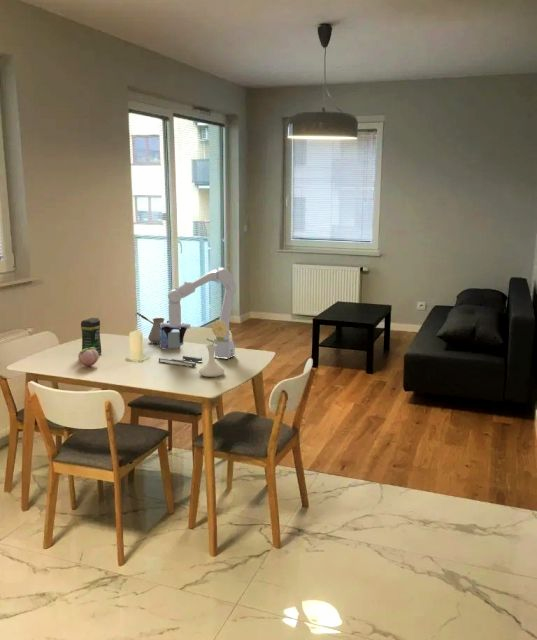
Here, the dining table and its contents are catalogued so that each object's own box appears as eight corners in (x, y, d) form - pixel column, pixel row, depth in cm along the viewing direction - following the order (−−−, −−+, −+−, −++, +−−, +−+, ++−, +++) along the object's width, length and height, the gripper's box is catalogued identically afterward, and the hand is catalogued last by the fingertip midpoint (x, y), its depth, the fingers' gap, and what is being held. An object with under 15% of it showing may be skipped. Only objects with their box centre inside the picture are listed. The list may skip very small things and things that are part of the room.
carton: (183, 343, 301) (183, 330, 300) (178, 348, 294) (178, 333, 292) (173, 343, 302) (172, 329, 301) (167, 347, 294) (167, 333, 293)
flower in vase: (201, 379, 267) (200, 323, 262) (197, 372, 278) (196, 318, 273) (230, 377, 271) (230, 322, 266) (225, 370, 282) (225, 317, 276)
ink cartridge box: (162, 349, 318) (161, 321, 315) (159, 346, 323) (158, 319, 320) (180, 347, 322) (180, 320, 319) (177, 345, 327) (176, 318, 324)
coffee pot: (174, 341, 334) (173, 314, 331) (160, 346, 325) (160, 318, 322) (143, 336, 345) (142, 310, 341) (129, 341, 335) (128, 314, 332)
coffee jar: (93, 358, 300) (91, 321, 296) (79, 356, 302) (77, 319, 299) (104, 353, 309) (102, 317, 306) (90, 352, 312) (88, 316, 308)
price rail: (205, 362, 294) (205, 358, 294) (193, 367, 285) (193, 363, 285) (170, 357, 303) (170, 353, 303) (158, 362, 294) (158, 358, 294)
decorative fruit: (89, 363, 291) (88, 342, 289) (102, 365, 288) (101, 345, 285) (74, 368, 283) (73, 347, 281) (87, 370, 279) (86, 349, 277)
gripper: (157, 315, 292) (158, 343, 295) (187, 317, 290) (187, 345, 292) (162, 312, 299) (163, 340, 302) (191, 314, 296) (192, 341, 299)
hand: (175, 342), depth 298 cm, fingers closed on carton, 5 cm apart
